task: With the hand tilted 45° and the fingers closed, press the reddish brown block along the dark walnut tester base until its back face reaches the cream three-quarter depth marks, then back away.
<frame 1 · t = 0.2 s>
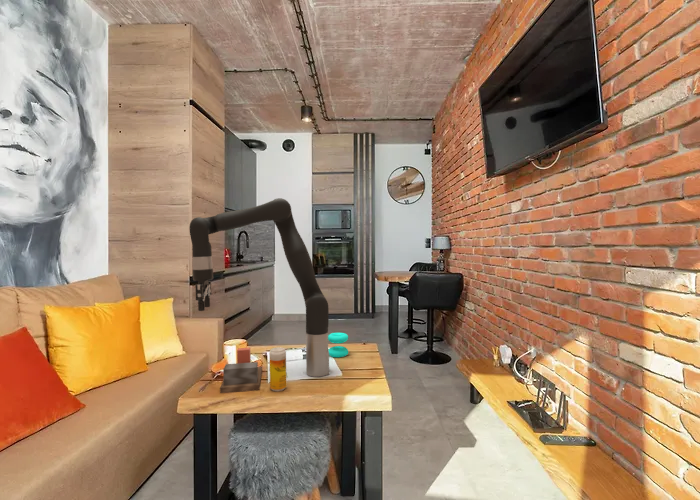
hand: (204, 308, 147), 29 cm above the table, tool pointing down, fingers open, 8 cm apart
beer glass: (278, 389, 140), on the table
press tester: (242, 381, 147), on the table
donuts: (338, 355, 179), on the table
reddish brown block: (244, 359, 153), point 7 cm above the table, slide at 0.0 cm
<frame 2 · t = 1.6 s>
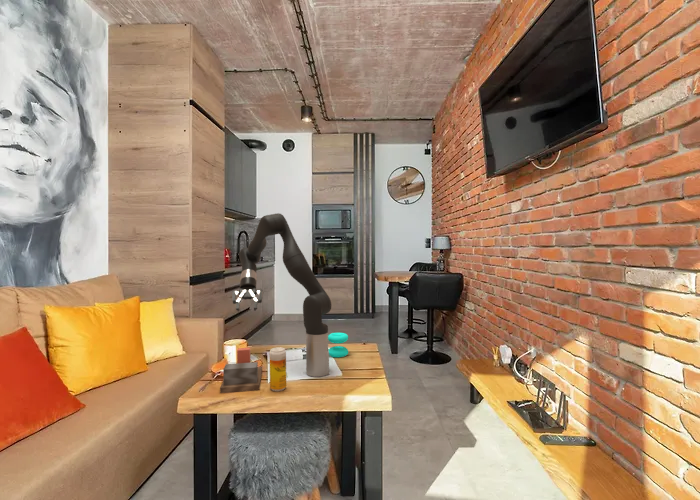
hand: (246, 309, 167), 24 cm above the table, tool tilted 45°, fingers open, 6 cm apart
nothing on the table moved.
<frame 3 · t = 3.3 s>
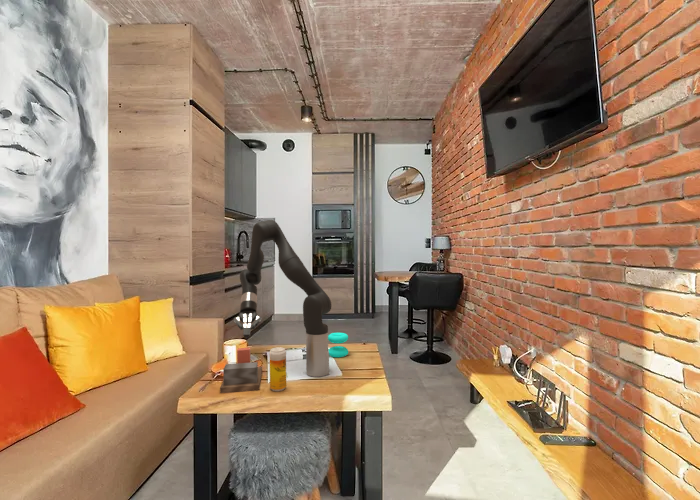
hand: (246, 336, 164), 13 cm above the table, tool tilted 45°, fingers closed
nothing on the table moved.
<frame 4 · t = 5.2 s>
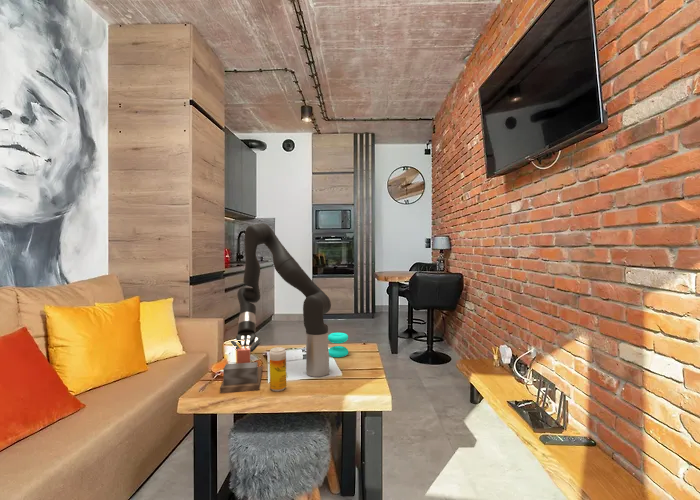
hand: (244, 360, 154), 6 cm above the table, tool tilted 45°, fingers closed
reddish brown block: (243, 360, 152), point 7 cm above the table, slide at 0.6 cm, touching gripper
everything else where it was.
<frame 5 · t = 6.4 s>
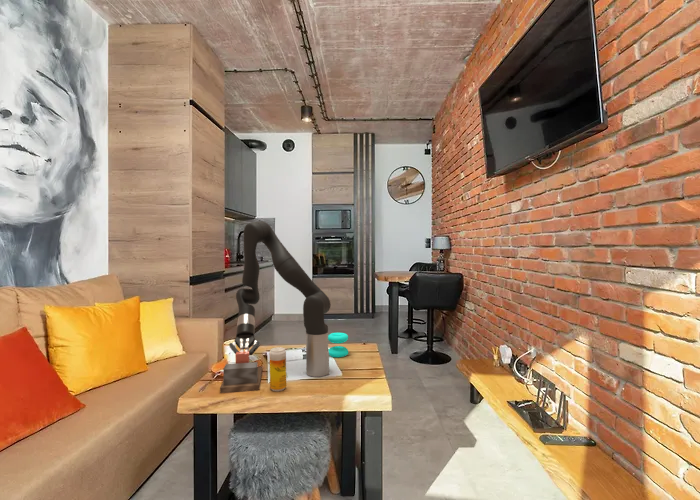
hand: (243, 364, 150), 6 cm above the table, tool tilted 45°, fingers closed
reddish brown block: (242, 363, 148), point 7 cm above the table, slide at 5.1 cm, touching gripper
everything else where it was.
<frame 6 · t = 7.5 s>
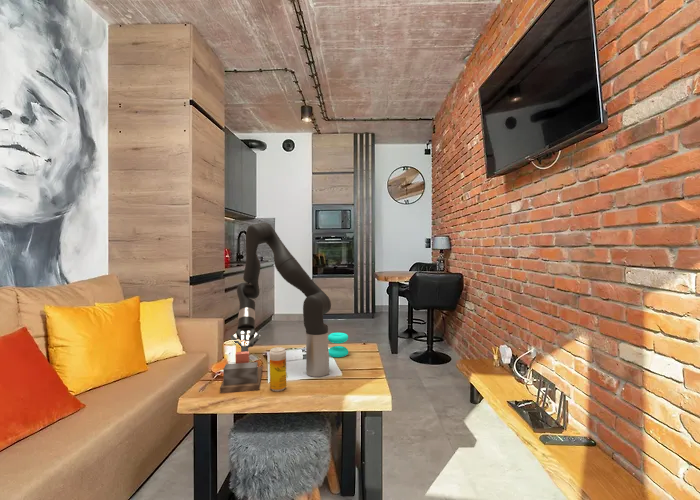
hand: (244, 355, 157), 7 cm above the table, tool tilted 45°, fingers closed
reddish brown block: (242, 363, 148), point 7 cm above the table, slide at 5.1 cm
everything else where it was.
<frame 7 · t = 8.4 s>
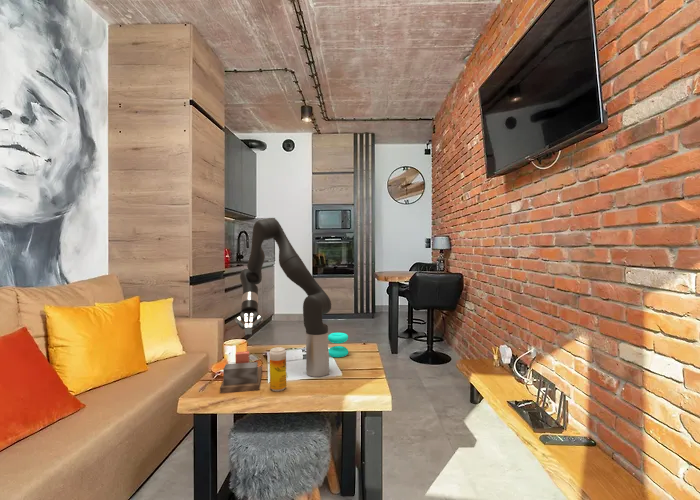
hand: (248, 336, 162), 14 cm above the table, tool tilted 45°, fingers closed
nothing on the table moved.
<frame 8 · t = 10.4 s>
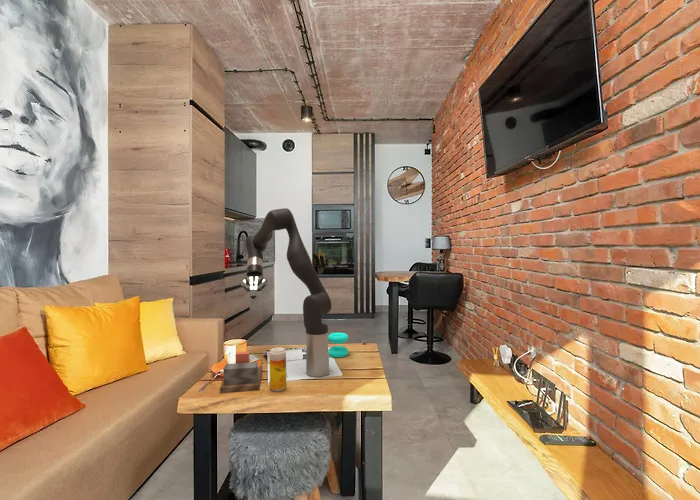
hand: (253, 297, 167), 30 cm above the table, tool tilted 45°, fingers closed
nothing on the table moved.
at the end: reddish brown block slide at 5.1 cm; beer glass moved 0.2 cm from its start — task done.
